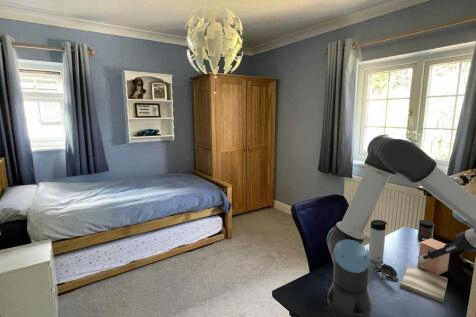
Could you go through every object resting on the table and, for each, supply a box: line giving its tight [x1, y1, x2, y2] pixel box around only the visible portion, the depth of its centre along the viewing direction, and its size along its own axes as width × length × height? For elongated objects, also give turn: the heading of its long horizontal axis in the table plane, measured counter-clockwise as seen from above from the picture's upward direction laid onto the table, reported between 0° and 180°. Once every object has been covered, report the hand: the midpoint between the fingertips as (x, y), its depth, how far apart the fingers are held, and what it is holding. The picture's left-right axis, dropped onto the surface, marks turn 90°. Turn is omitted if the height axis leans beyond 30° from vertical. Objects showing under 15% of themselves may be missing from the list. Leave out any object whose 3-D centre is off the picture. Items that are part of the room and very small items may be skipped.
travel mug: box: [368, 219, 388, 264], centre depth 124 cm, size 6×7×20 cm
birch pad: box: [399, 265, 449, 303], centre depth 108 cm, size 16×14×2 cm
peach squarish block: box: [417, 238, 451, 276], centre depth 117 cm, size 8×8×12 cm
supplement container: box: [417, 219, 435, 242], centre depth 142 cm, size 7×7×10 cm
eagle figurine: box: [372, 262, 400, 282], centre depth 113 cm, size 8×7×9 cm
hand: (425, 257), depth 121 cm, fingers closed on peach squarish block, 8 cm apart
